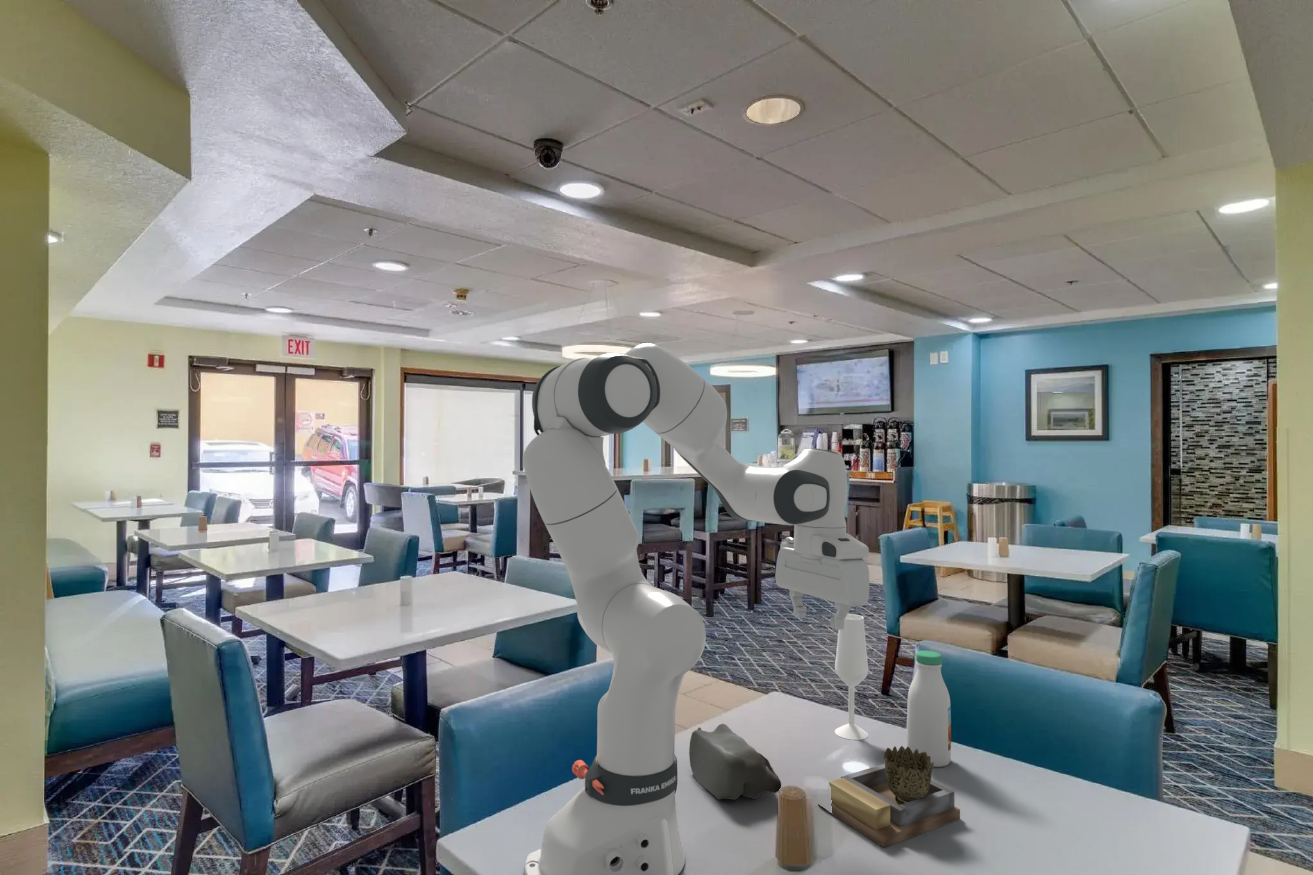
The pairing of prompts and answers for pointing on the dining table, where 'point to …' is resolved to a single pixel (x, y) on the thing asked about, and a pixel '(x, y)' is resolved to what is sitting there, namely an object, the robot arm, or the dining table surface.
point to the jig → (888, 807)
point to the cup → (907, 773)
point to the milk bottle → (929, 710)
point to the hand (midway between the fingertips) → (817, 622)
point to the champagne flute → (851, 668)
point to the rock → (730, 765)
